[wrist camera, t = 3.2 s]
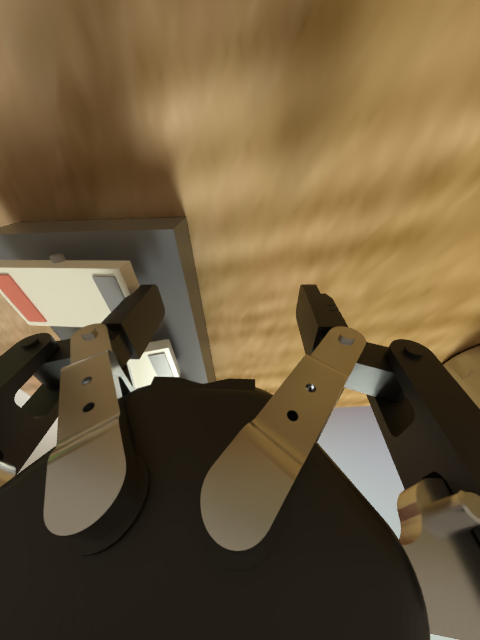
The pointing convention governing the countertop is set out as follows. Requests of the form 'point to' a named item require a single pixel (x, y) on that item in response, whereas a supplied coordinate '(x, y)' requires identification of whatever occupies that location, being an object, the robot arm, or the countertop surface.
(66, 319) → the rocker
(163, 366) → the rocker
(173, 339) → the rocker switch panel
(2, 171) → the countertop surface
